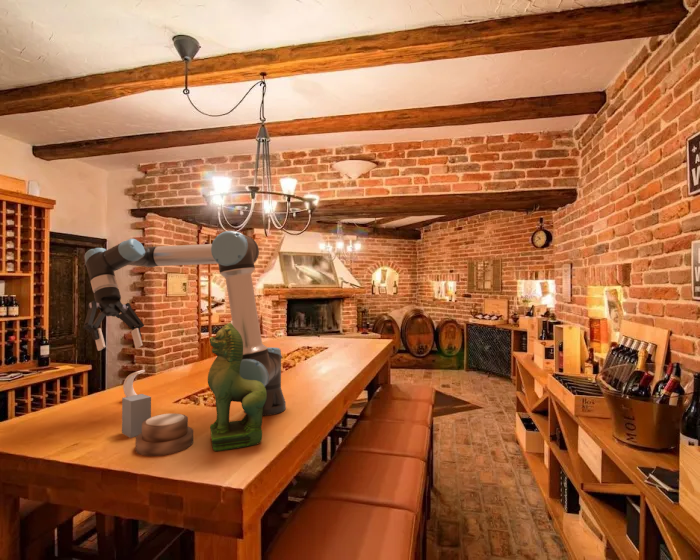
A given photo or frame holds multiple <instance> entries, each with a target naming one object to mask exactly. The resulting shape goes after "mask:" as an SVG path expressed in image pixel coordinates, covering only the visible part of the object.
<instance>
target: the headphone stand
mask: <svg viewBox="0 0 700 560" xmlns="http://www.w3.org/2000/svg"><path fill="white" fill-rule="evenodd" d="M145 372H146V369H141V370H138V371H135V372H132V373H130V374H129V375H128V376H126V378H125V380H124V381H123V385H122V386H123V388H122V389H123V392H124V395H125V397H129V396H134V395H138V394H137V393H136V391H135V389H134V380H135V378H136V377H137V376H138V375H139V374H140V375H141V374H142V373H145Z"/></svg>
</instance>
